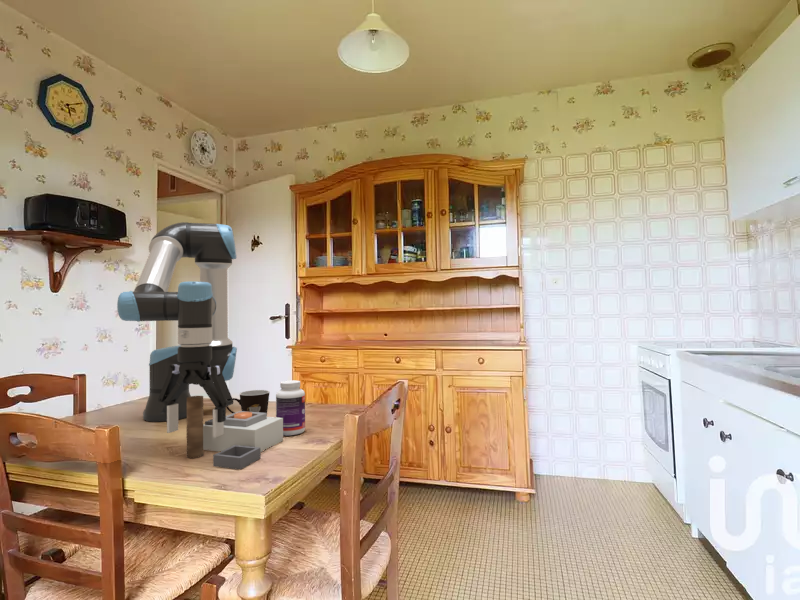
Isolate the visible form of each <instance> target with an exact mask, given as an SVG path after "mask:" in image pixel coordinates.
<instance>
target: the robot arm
mask: <svg viewBox="0 0 800 600" xmlns="http://www.w3.org/2000/svg"><path fill="white" fill-rule="evenodd" d="M148 252H149V254H148V256H147V259H146V261H145V264H144V266H143V269H142V271H141V273H140V276H139V278H138V280H137V283H136V286H135V288H134V290H130V291H122V292H120V294H119V295H118V297H117V304H116V305H117V306H116V309H117V314H118V318H120V319H121V320H122V321H125V322H138V323H140V322H159V321H162V322H163V321H165V322H166V321H170V322H171V321H172V322H173V321H177V344H178V345H174V346H166V347H161V348H157V349H154V350H152V351H151V352H150V353H149V363H148V366H149V395H148V397H147V398H148V399H147V402H146V404H145V407H144V408H145V409H144V410H143V413H142V419H144V421H145V420H146V421H145V422H166V433H167V434H171V433H174V432H176V431H179V420H180V419H181V420H182V419H187V397H191V396H192V395H191V392H190V385H191V384H192V385H197V386H198V385H199V386H200V387H201V388H202V389H203V390H204V391H205V393H206V395H207V396H208V398H209V400H210V401H211V402H212V403H213V405H214V406H215V407H214V408H213V409H212V419H213V437H218V436H220V435H223V434H224V421H225V420H226V416H227V408H226V407H227V406H228V407H229V406H231V405H233V404H234V400H233V399H232V398H233V397H232V394H231V392H230V389H229V387H228V385H227V383H226V382H227V381H230V380H232V378H233V376H234V374H235V368H236V367H235V366H236V358H237V350H238V347H235V346H233V341H232V340H231V339H230V338H229V337H228V336H229V335H228V333H229V331H228V329H229V328H228V327H229V325H228V322H229V320H228V319H229V317H228V316H229V315H228V312H229V311H228V306H229V305H228V303H229V302H228V270H229V268H230V267H231V266H232V265H233V260H236V259H237V249H236V243H235V236H234V232H233V228H232V226H230V225H227V224H223V223H221V224H220V223H205V222H203V223H200V222H199V223H198V222H187V221H185V222H183V221H182V222H177V223H173V224H170V225H168V226H166V227H164V228H162V229H161V230H160V231H158V232H157V233H155V234H154V236H153V237H152V238H151V240H150V242H149V245H148ZM182 258H188V259H190V258H191V259H192V258H193V259H194V264H195V265H196V266H197V267H198V268H199V281H181V282H180V283H179V284H178V286H177V288H178V289H177V291H169V288H170V285H171V281H172V279H173V275H174V272H175V270H176V266H177V263H178V262H179V261H180V260H181V259H182Z"/></svg>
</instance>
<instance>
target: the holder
mask: <svg viewBox="0 0 800 600" xmlns="http://www.w3.org/2000/svg"><path fill="white" fill-rule="evenodd" d="M260 459H261V452H260V448H259V447H249V446H239V445H234V446H232V447H230V448H227V449H225V450H223V451H221V452H219V451H218V452H217V453H215V454H213V455H212V464H213V465H212V466H213V467H216V468H224V469H231V470H238V471H239V470H242V469H243V468H246V467H247V466H249V465H251V464H253V463H255V462H256V461H258V460H260Z"/></svg>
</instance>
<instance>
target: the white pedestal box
mask: <svg viewBox="0 0 800 600" xmlns="http://www.w3.org/2000/svg"><path fill="white" fill-rule="evenodd" d="M239 412H247V411H242V410H238V411H236V412H235V413H233V414H232V413H230V414H226V420H225V421H224V434H223V435H220V436H218V437H213V418H212V419H209V420H205V421H204V423H203V451H211V452H219V451H223V450H225V449H227V448H230V447H232V446H234V445H239V446H249V447H259V448H260V453H262V452H263V450H264V451H266V450H268V449H270V448H272V447H273V446H275V445H277V444H279V443H281V442H283V441H284V435H283V418H278V417H276V416H268V412H267V413H261V412H252V417H250V418H247V419H237V418H234V414H236V413H239ZM271 446H272V447H271ZM269 447H270V448H269ZM267 448H268V449H267ZM265 449H266V450H265Z"/></svg>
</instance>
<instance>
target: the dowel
mask: <svg viewBox="0 0 800 600" xmlns="http://www.w3.org/2000/svg"><path fill="white" fill-rule="evenodd" d="M203 425H204V396H203V395H191V397H187V417H186V458H187V459H196V458H201V457H202V456H204V450H203ZM200 456H201V457H200Z"/></svg>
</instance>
